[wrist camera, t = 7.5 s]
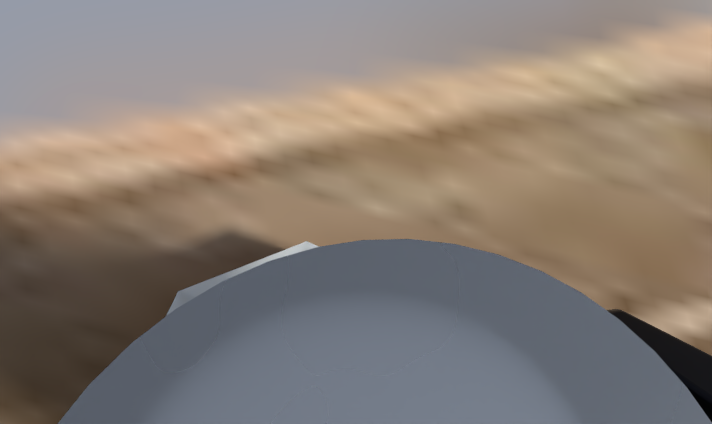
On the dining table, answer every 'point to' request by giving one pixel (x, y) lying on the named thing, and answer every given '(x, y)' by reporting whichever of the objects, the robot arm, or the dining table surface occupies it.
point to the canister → (388, 348)
